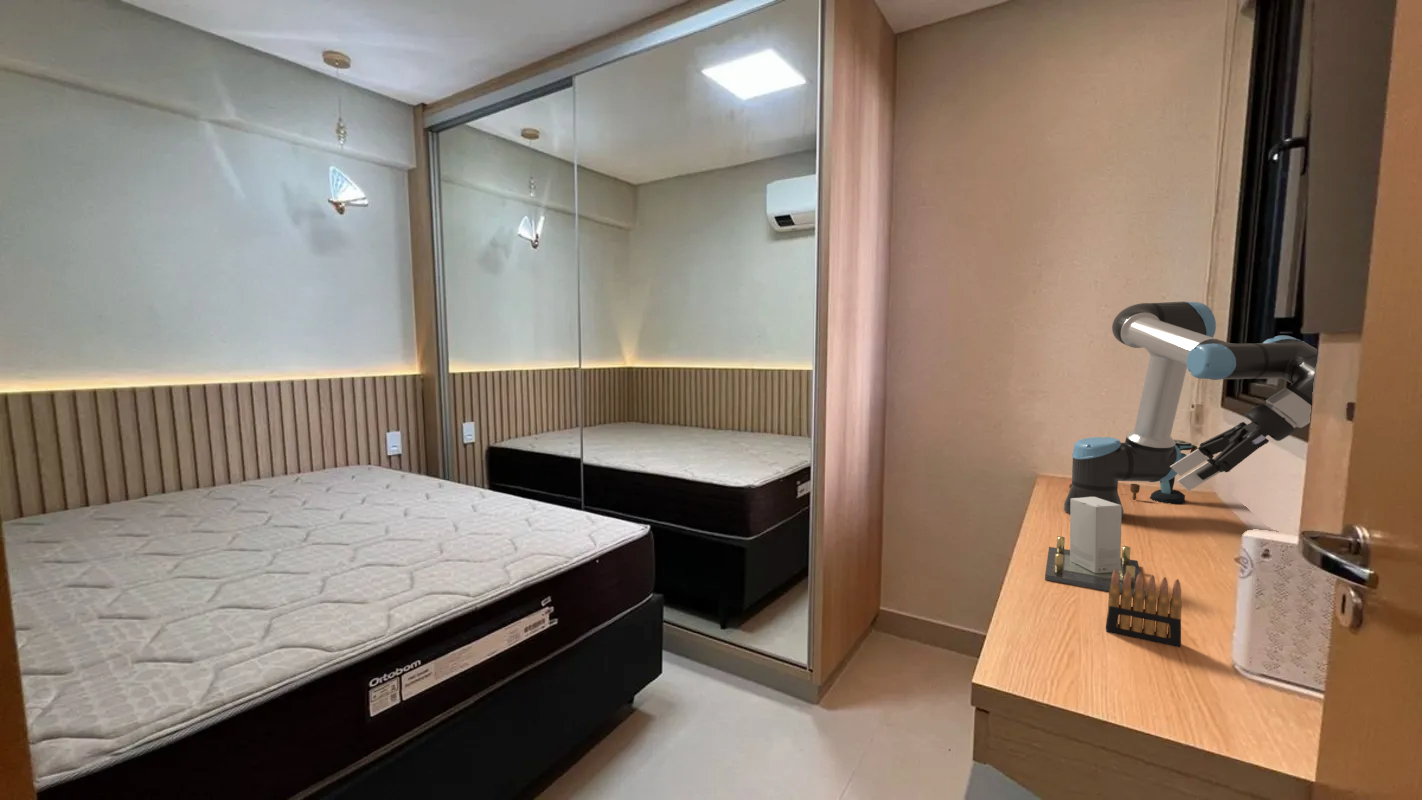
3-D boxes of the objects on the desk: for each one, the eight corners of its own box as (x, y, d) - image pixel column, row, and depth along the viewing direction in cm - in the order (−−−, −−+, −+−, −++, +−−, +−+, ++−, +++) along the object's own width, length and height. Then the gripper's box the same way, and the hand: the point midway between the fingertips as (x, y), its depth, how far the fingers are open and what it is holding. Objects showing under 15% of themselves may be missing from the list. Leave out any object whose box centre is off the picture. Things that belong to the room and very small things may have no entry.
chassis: (1048, 551, 142) (1049, 531, 141) (1137, 565, 132) (1138, 544, 131) (1044, 579, 125) (1045, 557, 125) (1145, 598, 115) (1146, 574, 115)
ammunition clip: (1179, 643, 99) (1183, 578, 98) (1180, 647, 97) (1185, 582, 96) (1105, 627, 104) (1109, 566, 103) (1106, 632, 103) (1109, 569, 102)
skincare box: (1121, 573, 125) (1125, 505, 123) (1093, 574, 124) (1097, 507, 123) (1092, 558, 133) (1095, 495, 132) (1066, 560, 132) (1069, 496, 131)
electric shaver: (1143, 496, 188) (1146, 438, 186) (1181, 496, 187) (1185, 438, 185) (1161, 504, 179) (1165, 443, 177) (1201, 504, 178) (1206, 443, 176)
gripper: (1318, 440, 101) (1202, 506, 112) (1280, 420, 122) (1185, 478, 132) (1280, 410, 104) (1171, 478, 114) (1249, 395, 124) (1158, 453, 134)
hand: (1178, 478), depth 123 cm, fingers open, 13 cm apart
